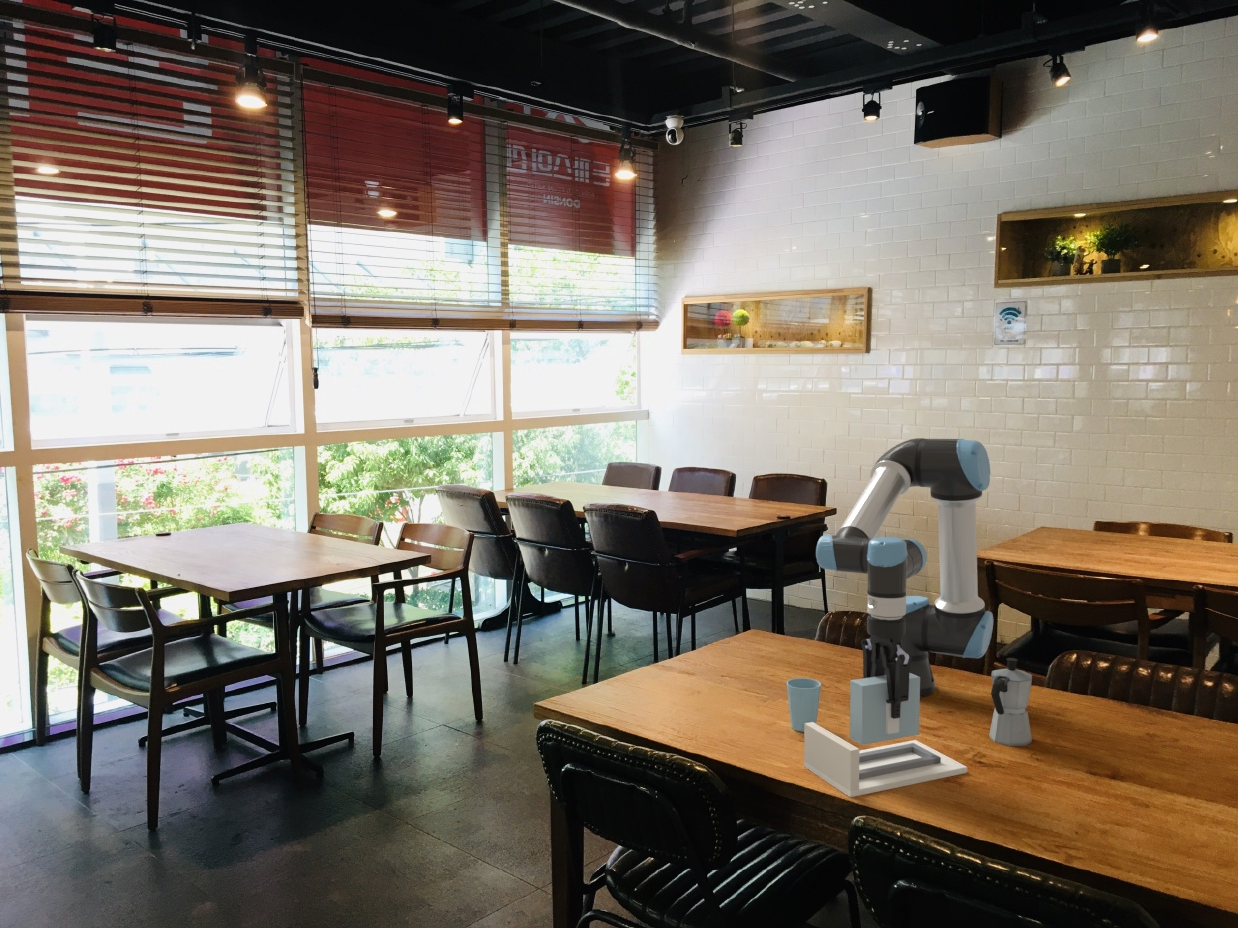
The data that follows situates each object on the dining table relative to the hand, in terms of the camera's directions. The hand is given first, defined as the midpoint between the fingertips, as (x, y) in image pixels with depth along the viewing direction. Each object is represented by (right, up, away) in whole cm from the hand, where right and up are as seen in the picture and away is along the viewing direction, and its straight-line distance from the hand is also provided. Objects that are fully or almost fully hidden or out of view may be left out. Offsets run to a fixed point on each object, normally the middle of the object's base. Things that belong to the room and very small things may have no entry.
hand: (884, 728), depth 201 cm
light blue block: (0, -2, 0) cm, 2 cm away
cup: (-12, -7, +25) cm, 29 cm away
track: (0, -9, +1) cm, 9 cm away
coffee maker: (+31, -7, +16) cm, 35 cm away
